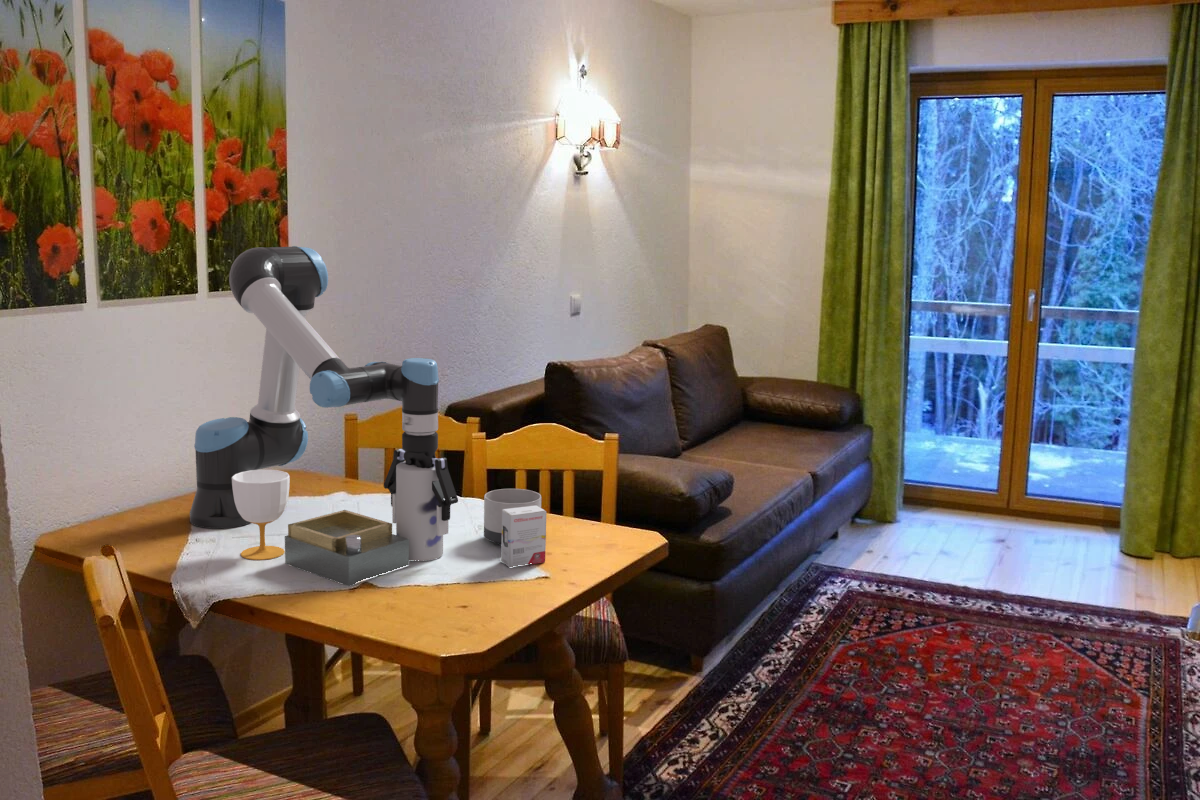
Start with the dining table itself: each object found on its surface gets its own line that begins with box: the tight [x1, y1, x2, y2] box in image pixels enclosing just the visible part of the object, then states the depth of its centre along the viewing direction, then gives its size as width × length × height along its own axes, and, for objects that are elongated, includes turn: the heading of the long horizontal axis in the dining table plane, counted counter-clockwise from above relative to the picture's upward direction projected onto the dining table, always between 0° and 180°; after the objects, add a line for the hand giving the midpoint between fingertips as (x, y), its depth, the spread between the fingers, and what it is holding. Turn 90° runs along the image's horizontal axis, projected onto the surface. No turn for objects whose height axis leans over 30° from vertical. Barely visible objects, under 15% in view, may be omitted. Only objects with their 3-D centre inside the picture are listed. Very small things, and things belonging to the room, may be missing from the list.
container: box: [395, 461, 444, 562], centre depth 236 cm, size 10×10×20 cm
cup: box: [232, 469, 291, 561], centre depth 233 cm, size 12×12×17 cm
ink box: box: [500, 505, 547, 568], centre depth 233 cm, size 9×5×12 cm, turn 119°
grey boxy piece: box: [284, 509, 410, 587], centre depth 228 cm, size 20×16×9 cm
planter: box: [483, 488, 542, 546], centre depth 248 cm, size 13×13×10 cm
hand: (420, 528), depth 236 cm, fingers open, 13 cm apart
